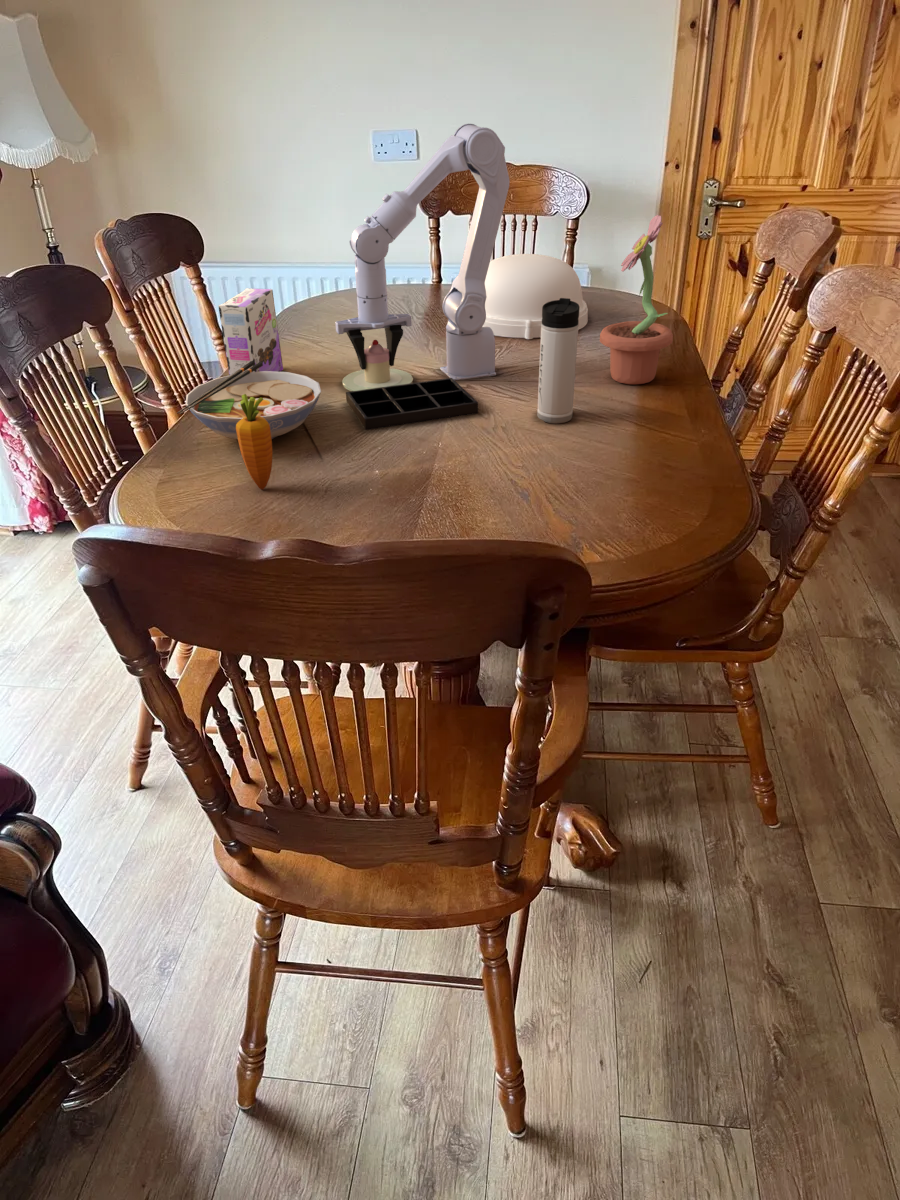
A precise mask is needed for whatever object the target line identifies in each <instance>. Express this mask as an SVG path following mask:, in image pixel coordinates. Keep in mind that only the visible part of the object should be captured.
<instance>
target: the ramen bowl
mask: <svg viewBox="0 0 900 1200" xmlns="http://www.w3.org/2000/svg"><path fill="white" fill-rule="evenodd" d="M253 365H254V366H253ZM252 366H253V367H252ZM262 366H263V363H262V362H259V363H257V364H256V365H255V364H254V361H251V362H249V363H248V364H246V365H245V366H243V367H242V368H241V369H239V370H238V371H236V372H235V373H233V374H232V375H229V374H228V375H225V376H222V377H217V378H214V379H211V380H209V381H206V382H204V383H201V384H199V385H197V386H195V387H194V388H193V389H192V390H191V391H190V392H188V393H187V394H186V395H185V407H183V408H182V409H180V410H179V411H177V412H176V414H179V415H182V414H183V413H185V412H187V411H188V410H189V411H190V412H191V414H192V415H193V416H194V417H195V418H196V419H197V420H198V421H199V422H200V423H202V424H203V425H204V426H206V427H207V428H208V429H210V430H211V431H212V432H213V433H216V434H217V435H220V436H222V437H226V438H230V439H233V440H238V437H237V432H236V424H237V423H238V422H239V421H240V420H241V419H243V418H244V417H246V415H245V413H244V411H243V409H242V407H241V404H240V402H241V401H242V395H243V394H246V395H247V398H248V401H249V400H250V397H254V398H255V403H256V401H257V400H258V399H259V398H260V397H261V398H263V400H262V401H261V402H260V404H259V405H258V407H257V409H256V410H258V411H259V413H258V414H257V416H260V417H263V418H265V420H266V421H267V422H268V423H269V425H270V431H271V439H272V440H273V439H275V438H277V437H278V436H282V435H285V434H287V433H289V432H291V431H293V430H295V429H297V428H299V426H301V425H302V424H303V423H304V422H305V421H306V419H307V418H308V416H310V414H311V413H312V411H313V410H314V409H315V406H316V405H317V403H318V402H319V399H320V395H321V393H322V389H321V386H320V382H319V381H316V380H315V379H313V378H311V377H309V376H307V375H303V374H299V373H294V372H290V371H281V372H273V371H260V372H253V371H255V370H256V369H258V368H260V367H262ZM250 367H251V368H250ZM249 368H250V369H249ZM247 369H248V370H247ZM245 370H246V371H245ZM243 371H245V372H243ZM242 372H243V373H242ZM255 403H254V405H255Z"/></svg>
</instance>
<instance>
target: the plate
mask: <svg viewBox="0 0 900 1200" xmlns="http://www.w3.org/2000/svg"><path fill="white" fill-rule="evenodd" d="M410 383H414V377H413V375H412V374H411V373H409V372H407V371H405V370H402V369H398V368H391V367H390V380H389V381H387V382H384V383H369V382H367V381H365V372H364V370H362V369H360V370H356V371H353V372H350V373H349V374H346V375H345V376H344V377H343V378H342V380H341V384H342V387H343V388H344V389H345V390H347V391H349V392H351V391H358V390H366V389H373V388H380V387H388V386H395V385H403V384H410Z"/></svg>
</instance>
